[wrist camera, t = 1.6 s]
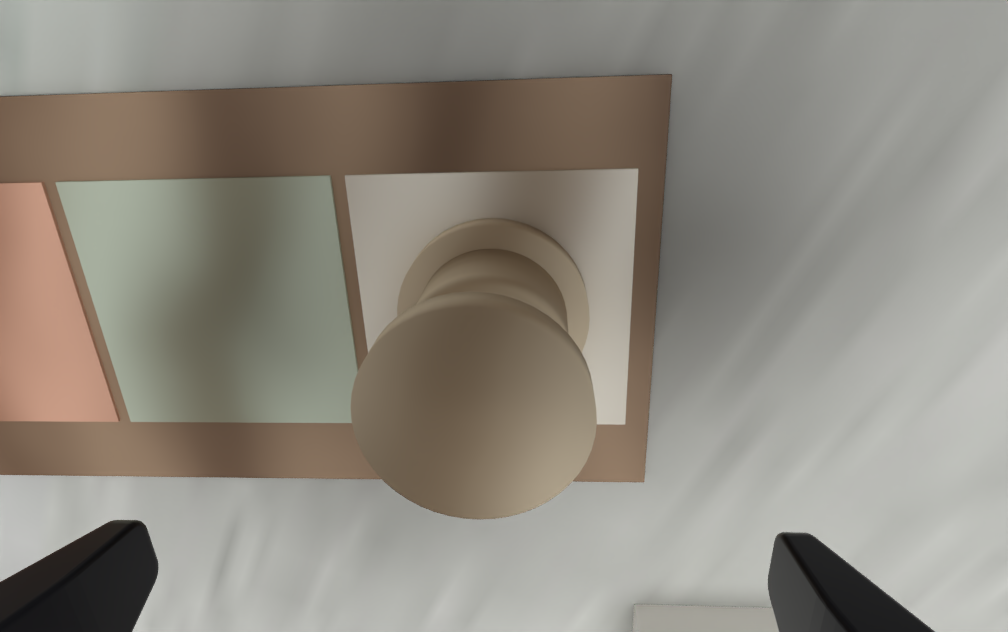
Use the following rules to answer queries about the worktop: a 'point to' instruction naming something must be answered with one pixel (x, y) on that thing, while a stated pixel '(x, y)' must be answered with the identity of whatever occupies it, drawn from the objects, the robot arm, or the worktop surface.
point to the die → (702, 619)
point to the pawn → (481, 375)
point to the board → (295, 259)
